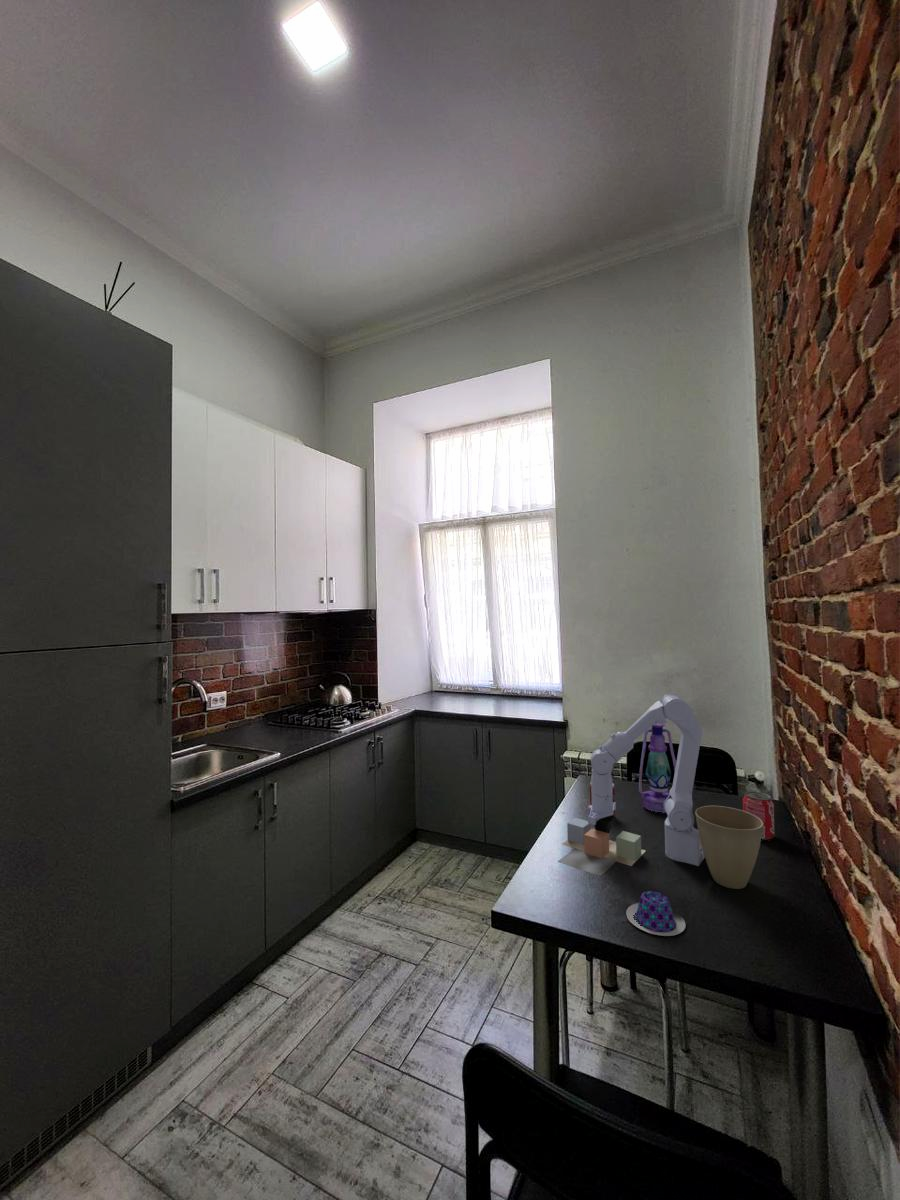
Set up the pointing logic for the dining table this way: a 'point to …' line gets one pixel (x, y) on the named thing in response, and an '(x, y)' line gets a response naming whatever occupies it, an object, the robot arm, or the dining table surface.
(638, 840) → the sage block
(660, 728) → the lantern
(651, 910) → the patterned fedora hat
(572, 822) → the blue block
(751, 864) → the plant pot
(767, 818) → the beverage can
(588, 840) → the terracotta block
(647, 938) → the dining table surface
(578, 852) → the board
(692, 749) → the robot arm
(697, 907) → the dining table surface
